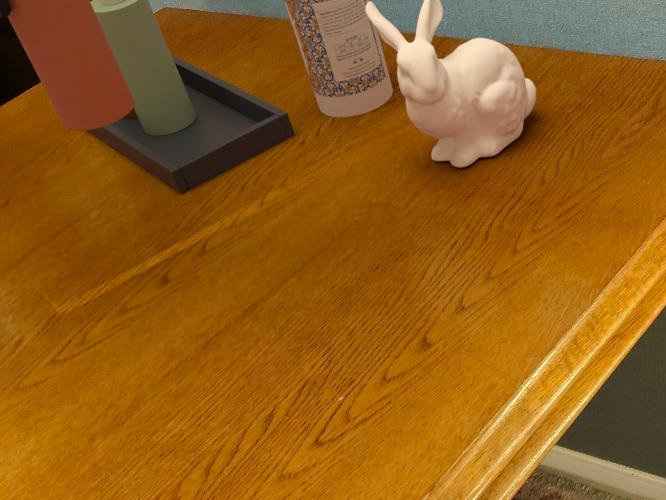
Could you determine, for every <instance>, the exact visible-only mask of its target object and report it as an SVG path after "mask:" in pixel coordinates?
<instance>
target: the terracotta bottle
mask: <svg viewBox="0 0 666 500" xmlns="http://www.w3.org/2000/svg"><path fill="white" fill-rule="evenodd" d="M7 2H8V4H9V6H10V8H11V10H12V12H10V15H9V16H7V18H8V20H9V22H10V24H11V26H12V28H13V30H14V32H15V34H16V36H17V38H18V40H19V42H20V44H21V46H22V47H23V49H24V51H25V53H26V55H27V57H28V59H29V61H30V63H31V65H32V67H33V69H34V71H35V73H36V75H37V77H38V78H39V80H40V82H41V84H42V86H43V88H44V90H45V92H46V94H47V96H48V98H49V100H50V102H51V104H52V106H53V108H54V110H55V111H56V113H57V114H56V115H58V117H59V119H60V121H61V124H62V125H63V127H64V128H66V129H68V130H71V131H77V132H79V131H80V132H82V131H86V130H92V129H96V128H100V127H103V126H106V125H109V124H111V123H114V122H116V121H118V120H120V119H121V118H123V117H124V116H126V115H127V114H128V113H129V112H130V111H131V110H132V109H133V107H134V105H135V101H134V98H133V96H132V94H131V92H130V89H129V87H128V85H127V83H126V80H125V78H124V76H123V74H122V72H121V69H120V67H119V65H118V63H117V61H116V58H115V56H114V54H113V52H112V49H111V47H110V45H109V43H108V41H107V38H106V36H105V34H104V32H103V29H102V27H101V25H100V23H99V21H98V18H97V16H96V14H95V12H94V10H93V7H92V5H91V3H90V1H89V0H7Z"/></svg>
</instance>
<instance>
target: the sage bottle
mask: <svg viewBox="0 0 666 500" xmlns="http://www.w3.org/2000/svg"><path fill="white" fill-rule="evenodd" d="M90 3H91V5H92V7H93V10H94V12H95V14H96V16H97V18H98V21H99V23H100V25H101V27H102V29H103V32H104V34H105V36H106V38H107V41H108V43H109V45H110V47H111V49H112V52H113V54H114V56H115V58H116V61H117V63H118V65H119V67H120V69H121V72H122V74H123V76H124V78H125V80H126V83H127V85H128V87H129V89H130V92H131V94H132V96H133V98H134V101H135V105H134V110H135V112H136V114H137V116H138V118H139V120H140V122H141V125H142V127H143V129H144V131H145V132H146V133H147V134H148V135H152V136H163V135H169V134H172V133H175V132H178V131H180V130H183V129H184V128H186V127H188V126H189V125H190V124H192V123H193V122H194V120H195V119H196V113H195V110H194V108H193V105H192V103H191V101H190V98H189V96H188V94H187V91H186V89H185V86H184V84H183V82H182V79H181V77H180V75H179V72H178V70H177V67H176V65H175V63H174V60H173V58H172V56H171V55H172V53H171V51H170V49H169V46H168V43H167V42H166V38H165V36H164V35H163V32H162V29H161V27H160V25H159V22H158V20H157V17H156V15H155V13H154V10H153V8H152V6H151V3H150V1H149V0H92V1H91V2H90Z"/></svg>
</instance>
